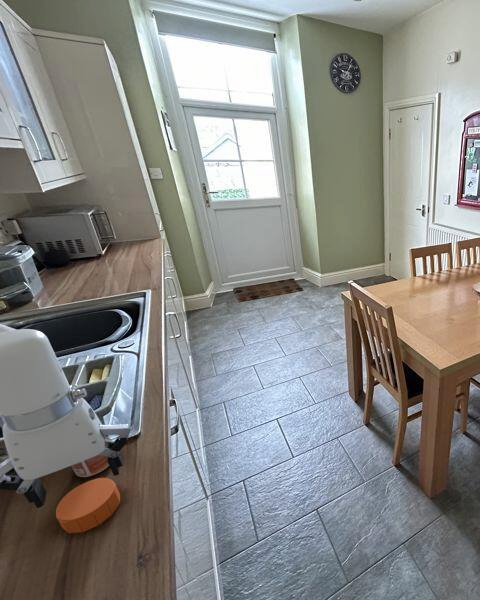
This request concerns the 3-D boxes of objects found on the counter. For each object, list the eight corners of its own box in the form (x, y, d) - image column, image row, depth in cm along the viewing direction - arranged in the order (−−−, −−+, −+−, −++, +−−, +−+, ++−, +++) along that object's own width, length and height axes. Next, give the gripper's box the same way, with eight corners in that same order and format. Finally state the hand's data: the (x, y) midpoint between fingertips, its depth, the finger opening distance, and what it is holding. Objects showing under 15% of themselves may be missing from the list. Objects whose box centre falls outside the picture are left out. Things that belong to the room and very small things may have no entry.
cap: (50, 535, 56) (42, 522, 54) (85, 492, 63) (78, 479, 61) (101, 530, 57) (94, 517, 55) (129, 488, 64) (124, 476, 62)
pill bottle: (118, 449, 72) (102, 409, 67) (110, 471, 67) (92, 431, 62) (81, 458, 69) (62, 418, 65) (70, 483, 64) (48, 441, 60)
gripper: (114, 375, 58) (142, 446, 64) (-39, 417, 48) (13, 496, 55) (114, 398, 52) (144, 473, 59) (-59, 452, 42) (2, 534, 49)
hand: (81, 484), depth 57 cm, fingers open, 9 cm apart
